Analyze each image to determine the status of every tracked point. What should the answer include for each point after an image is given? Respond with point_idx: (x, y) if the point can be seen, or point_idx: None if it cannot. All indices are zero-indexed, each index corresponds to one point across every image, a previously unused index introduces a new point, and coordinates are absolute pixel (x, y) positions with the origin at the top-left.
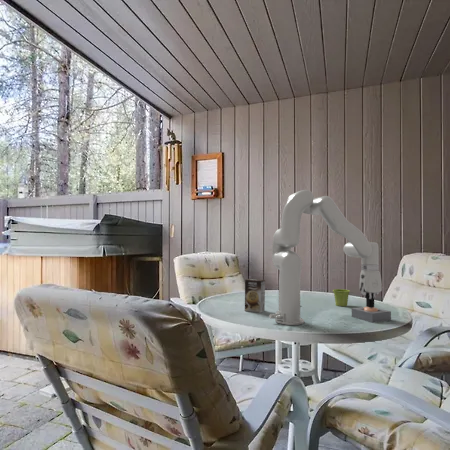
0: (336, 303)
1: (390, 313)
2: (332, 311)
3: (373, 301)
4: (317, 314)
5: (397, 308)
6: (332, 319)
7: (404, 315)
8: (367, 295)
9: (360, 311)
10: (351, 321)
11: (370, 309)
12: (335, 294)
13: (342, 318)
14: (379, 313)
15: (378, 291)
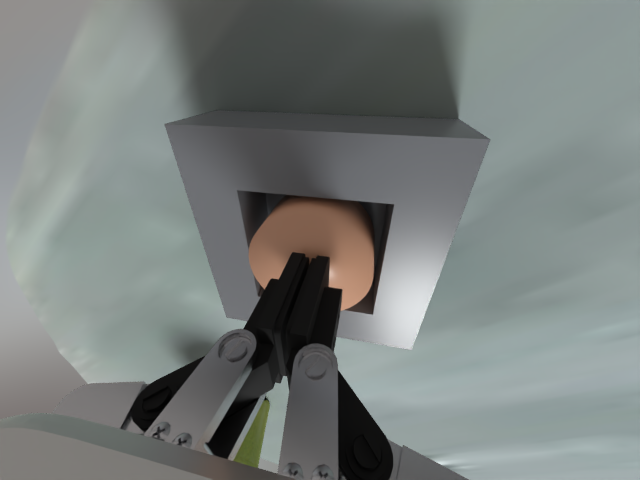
0: (267, 415)
1: (186, 120)
2: (380, 385)
3: (282, 301)
4: (522, 398)
5: (25, 279)
6: (609, 322)
7: (40, 170)
8: (368, 433)
9: (433, 279)
10: (568, 232)
11: (362, 242)
12: (257, 467)
13: (510, 305)
14: (352, 130)
15: (70, 453)
